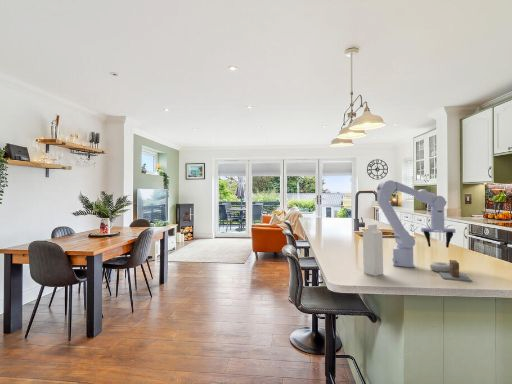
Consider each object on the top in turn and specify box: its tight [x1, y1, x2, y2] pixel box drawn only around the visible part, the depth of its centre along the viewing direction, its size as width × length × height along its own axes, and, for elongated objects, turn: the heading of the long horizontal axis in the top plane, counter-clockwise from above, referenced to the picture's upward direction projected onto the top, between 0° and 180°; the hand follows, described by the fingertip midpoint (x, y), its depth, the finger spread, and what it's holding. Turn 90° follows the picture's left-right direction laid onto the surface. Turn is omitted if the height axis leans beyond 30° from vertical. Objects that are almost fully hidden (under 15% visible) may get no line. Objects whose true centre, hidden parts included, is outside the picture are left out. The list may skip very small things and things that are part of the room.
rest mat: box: [438, 272, 473, 282], centre depth 125 cm, size 10×10×1 cm
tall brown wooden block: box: [449, 259, 460, 278], centre depth 125 cm, size 2×6×6 cm, turn 155°
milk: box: [362, 224, 384, 277], centre depth 133 cm, size 6×6×22 cm
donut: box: [429, 261, 450, 273], centre depth 136 cm, size 10×4×10 cm
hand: (438, 246), depth 146 cm, fingers open, 7 cm apart
